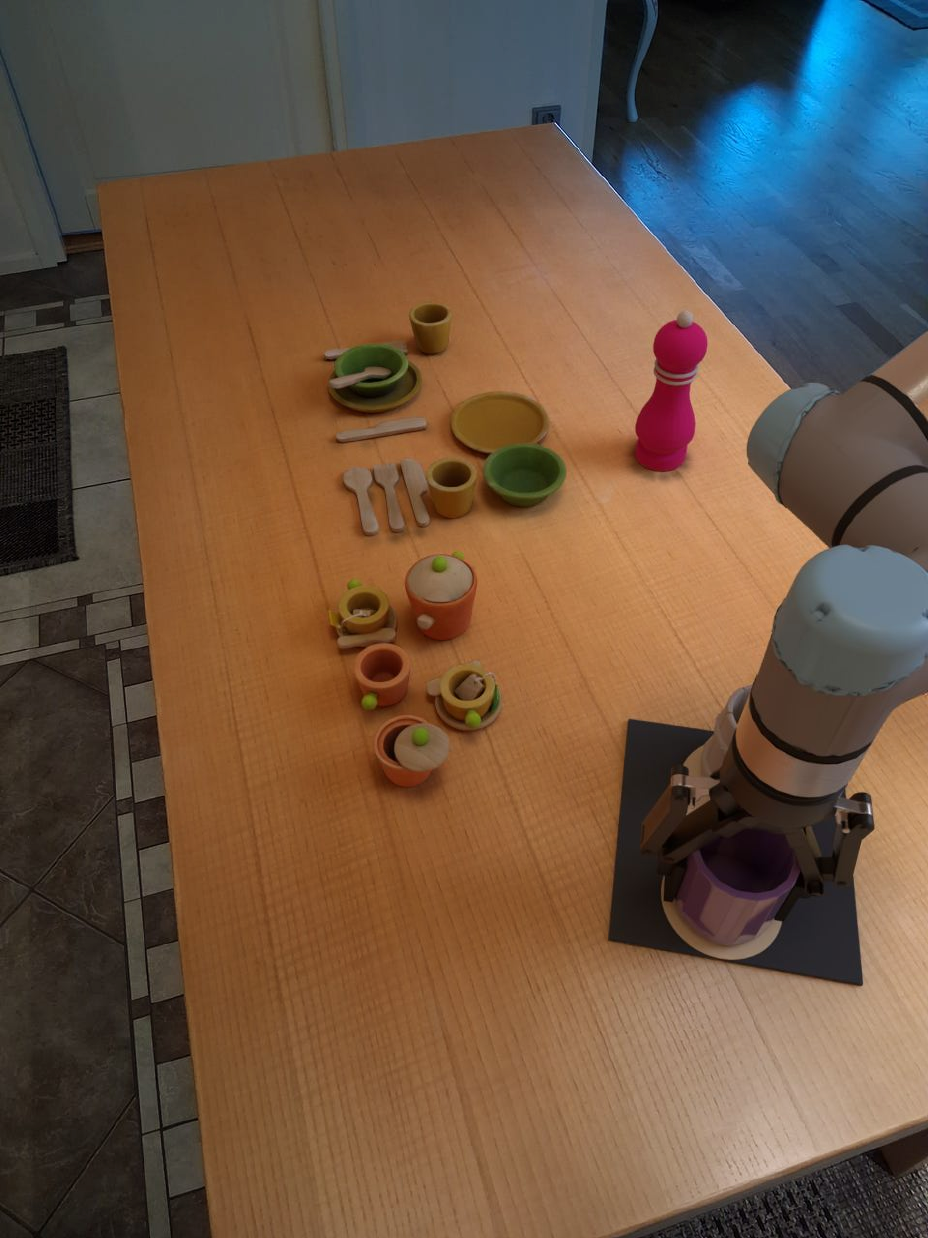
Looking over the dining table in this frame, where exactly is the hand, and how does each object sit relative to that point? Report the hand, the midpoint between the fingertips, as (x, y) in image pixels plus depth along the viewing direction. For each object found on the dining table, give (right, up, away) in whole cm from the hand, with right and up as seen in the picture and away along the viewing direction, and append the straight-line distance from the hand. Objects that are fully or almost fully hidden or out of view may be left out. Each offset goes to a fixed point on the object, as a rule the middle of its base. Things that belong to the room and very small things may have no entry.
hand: (723, 895), depth 75 cm
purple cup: (0, 0, 0) cm, 0 cm away
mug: (+4, +7, +7) cm, 11 cm away
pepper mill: (+3, +44, +39) cm, 59 cm away
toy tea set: (-26, +17, +17) cm, 35 cm away
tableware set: (-25, +49, +44) cm, 71 cm away
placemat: (+2, +4, +5) cm, 6 cm away
